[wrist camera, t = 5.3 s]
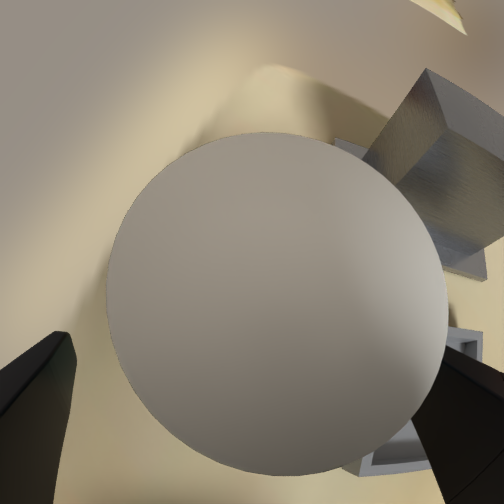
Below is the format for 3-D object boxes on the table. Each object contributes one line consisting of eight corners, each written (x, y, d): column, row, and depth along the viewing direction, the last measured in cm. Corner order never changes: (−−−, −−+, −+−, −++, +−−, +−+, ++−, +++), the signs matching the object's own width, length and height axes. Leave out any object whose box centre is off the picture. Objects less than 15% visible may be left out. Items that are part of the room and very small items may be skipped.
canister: (252, 406, 15) (433, 467, 3) (165, 389, 14) (66, 428, 3) (267, 324, 17) (436, 184, 5) (183, 305, 16) (173, 105, 4)
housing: (482, 281, 20) (574, 231, 12) (327, 237, 19) (417, 133, 10) (469, 197, 24) (539, 137, 15) (332, 142, 22) (390, 40, 14)
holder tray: (450, 457, 15) (470, 460, 13) (341, 468, 14) (358, 476, 12) (462, 337, 18) (482, 331, 16) (362, 321, 18) (380, 314, 16)
